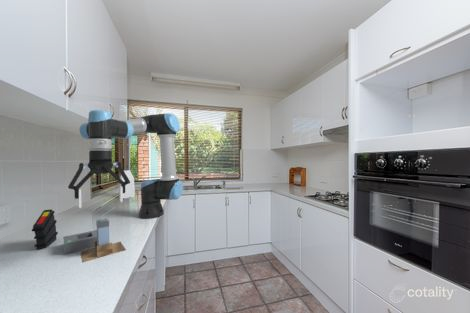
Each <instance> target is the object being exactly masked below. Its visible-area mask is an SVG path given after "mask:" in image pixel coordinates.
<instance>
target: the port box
mask: <svg viewBox="0 0 470 313" xmlns="http://www.w3.org/2000/svg"><path fill="white" fill-rule="evenodd" d="M62 240H63V255H65V256H66V255H68V254H72V253H76V252H82V251H86V250H90V249H94V241H95V240H97V229H95V230H90V231H86V232H81V233H75V234H70V235H67V236H66V235H65V236H63V239H62Z"/></svg>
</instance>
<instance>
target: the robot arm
mask: <svg viewBox="0 0 470 313" xmlns="http://www.w3.org/2000/svg"><path fill="white" fill-rule="evenodd" d="M180 127H181V126H180V121H179V119H178V117H177V115H175V114H174V113H167V112H166V113H158V114H157V113H156V114H147V115H143V116H139V117H135V118H132V119H123V120H122V119H120V120H118V119H113V117H112V114H111V112H109V111H107V110H102V109H95V110H94V109H93V110H91V111H90V110H89V112H88V119H87V122H85V123H81V125H80V126H79V134H80V136H81V137H82V138H83V139H86V140H88V149H89V151H88V156H89V158H88V163H83V162H80V163H79V164H78V169H77V171H76V172H75V174H74V176H73V178H72V179H71V180H70V182H69V184H68V186H67V188H68V189H69V190H73V191H74V199H75V200H77V199H78V208H79V209H82V204H83V203H82V189H81V187H82V186H83V185H85V183H86V182H87V181H88V180H89V179H90V178H91V177H92V176H93V175H94V174H95V175H101V174H103V175H105V174H109V175H110V176H111V177H113V179H115V180H116V182H118V183H119V185H118V195H119V198H118V199H119V200H118V201H119V202H120V203H123V202H124V200H123V193H125V185H126V184H129V183H130V181H129V179H128V177H127V176H126V174H125V172H124V171H125V170H124V169H123V167H122V162H120V161H117V162H113V154H112V153H113V151H112V148H113V146H112V139H123V140H124V139H130V138H131V137H132V136H133V134H135V133H138V134H156V136H157V137H158V138H159V146H160V147H159V148H160V150H159V152H160V162H161V164H160V165H161V177H160V178H155V179H148V180H143V181H142V182H141V183H140V197H141V198H140V199H141V201H140V203H141V204H140V208H139V211H138V218H140V219H154V218H159V217H162V216H164V214H165V213H164V208H163V206H162V203H161V202H162V201H161V200H166V201H167V200H168V201H169V200H170V201H172V200H176V201H177V200H178V199H179V198H180V197H182V196H181V195H182V193H183V191H184V184H183V181H181V180H180V177H179V176H178V175H177V167H176V151H175V148H176V147H175V137H176V136H177V133H178V132H179V131H180ZM87 167H88V169H89V172H88V173H87V174H85V176H84V177H83V178H82V179H81V180H80V181H79V182H78V183H77V184H76V182H77V180H78V179H79V177H80V175H81V174H82V172H83V170H85V169H86V168H87ZM114 167H115V168H116V169H117V170H118V172H119V174H120V176H121V175H122V177H123V179H124V180H125V182H123V181H122V180H121V179H120V177H119V176H118V175H117V174H116V172H114V171H113V170H112V168H114ZM75 184H76V185H75ZM120 184H121V186H120Z"/></svg>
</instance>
